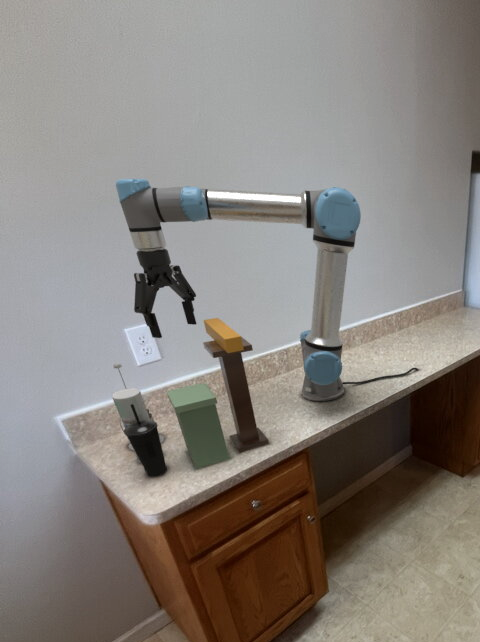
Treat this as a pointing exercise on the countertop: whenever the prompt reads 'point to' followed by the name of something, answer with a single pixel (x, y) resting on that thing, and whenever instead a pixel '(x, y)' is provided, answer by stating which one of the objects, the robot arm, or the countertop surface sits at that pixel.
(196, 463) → the green lidded bin
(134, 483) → the countertop surface
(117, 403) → the spray can
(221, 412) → the countertop surface
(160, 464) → the drinking cup
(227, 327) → the box
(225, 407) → the countertop surface
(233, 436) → the walnut stand
